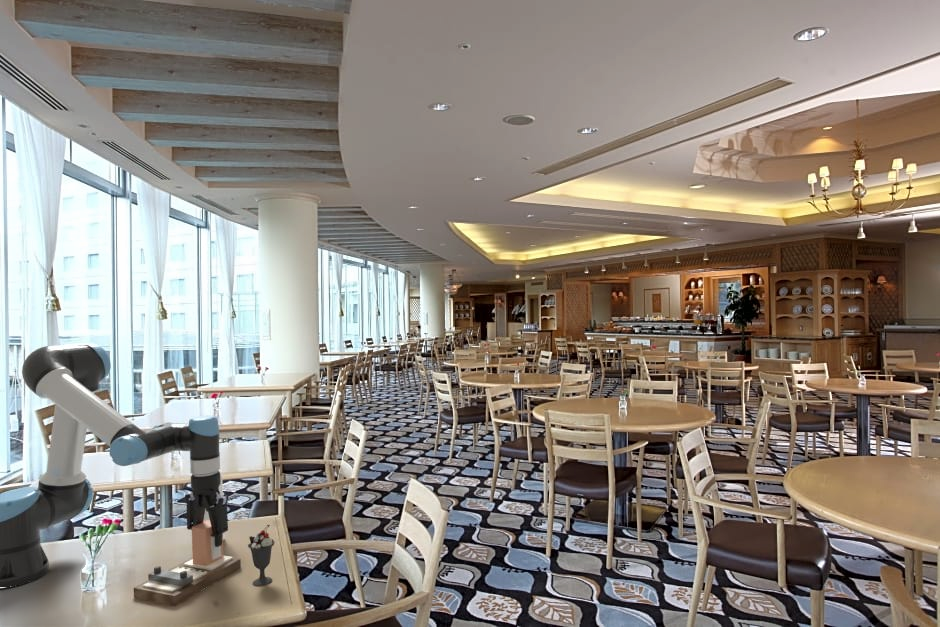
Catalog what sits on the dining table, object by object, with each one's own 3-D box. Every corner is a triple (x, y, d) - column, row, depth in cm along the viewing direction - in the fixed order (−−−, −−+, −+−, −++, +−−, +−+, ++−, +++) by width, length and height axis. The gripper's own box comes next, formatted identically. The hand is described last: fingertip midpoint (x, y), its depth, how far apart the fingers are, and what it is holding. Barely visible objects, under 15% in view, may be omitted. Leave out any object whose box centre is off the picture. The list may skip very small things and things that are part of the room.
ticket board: (133, 597, 146) (133, 574, 146) (202, 561, 167) (201, 541, 167) (175, 606, 141) (174, 582, 141) (240, 567, 162) (240, 547, 162)
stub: (183, 565, 158) (182, 527, 158) (205, 554, 165) (204, 517, 165) (211, 570, 155) (210, 531, 155) (232, 558, 162) (231, 521, 162)
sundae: (280, 581, 153) (278, 525, 153) (255, 590, 148) (253, 532, 148) (269, 573, 158) (267, 518, 157) (245, 582, 153) (243, 525, 153)
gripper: (241, 471, 160) (243, 555, 160) (191, 466, 167) (194, 547, 167) (220, 479, 153) (223, 566, 153) (169, 473, 160) (172, 557, 160)
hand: (208, 556), depth 160 cm, fingers closed on stub, 5 cm apart
